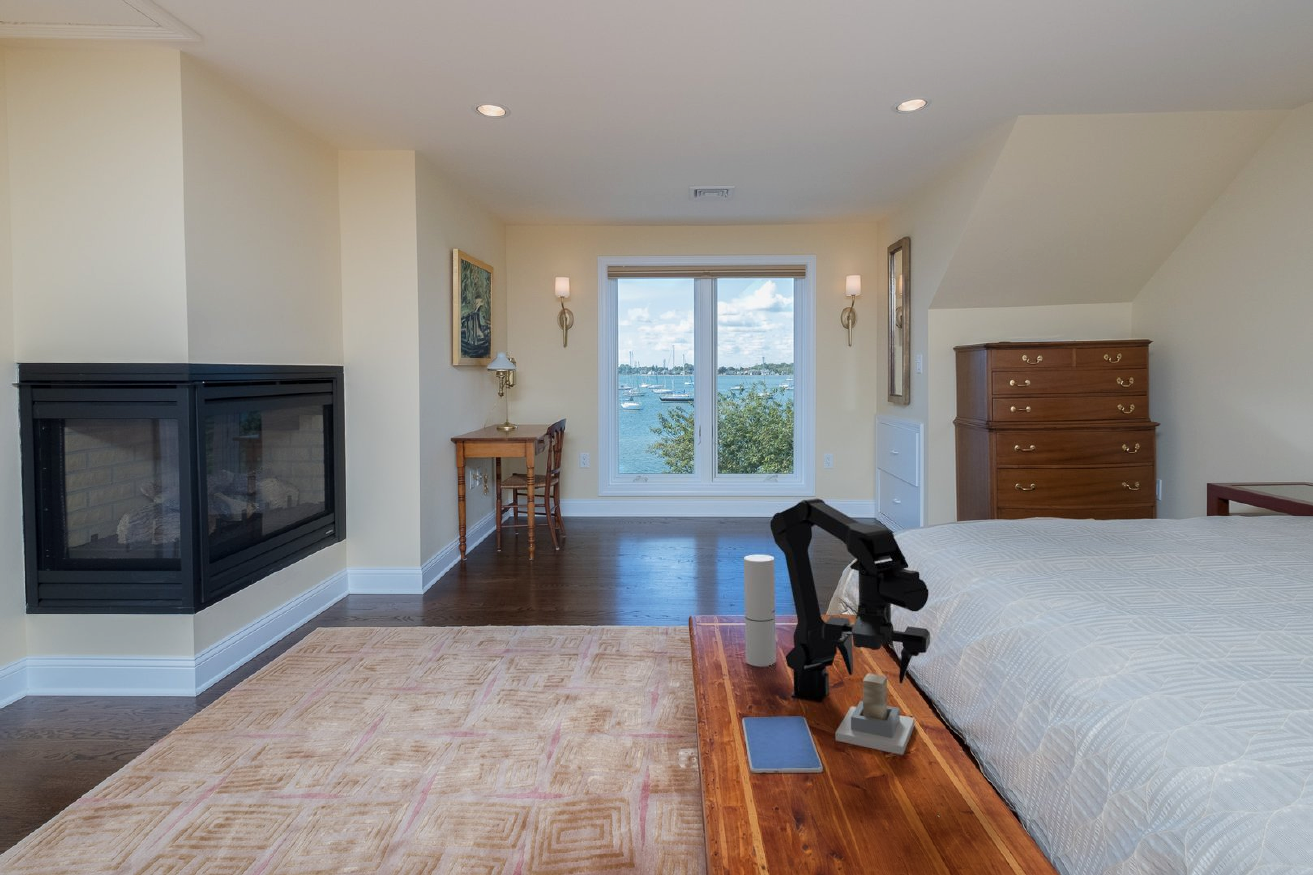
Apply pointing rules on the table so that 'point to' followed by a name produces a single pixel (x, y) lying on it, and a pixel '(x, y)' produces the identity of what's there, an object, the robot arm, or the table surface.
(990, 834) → the table surface
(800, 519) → the robot arm
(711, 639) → the table surface
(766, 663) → the cylindrical container
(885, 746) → the socket board
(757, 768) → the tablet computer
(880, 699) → the peg
